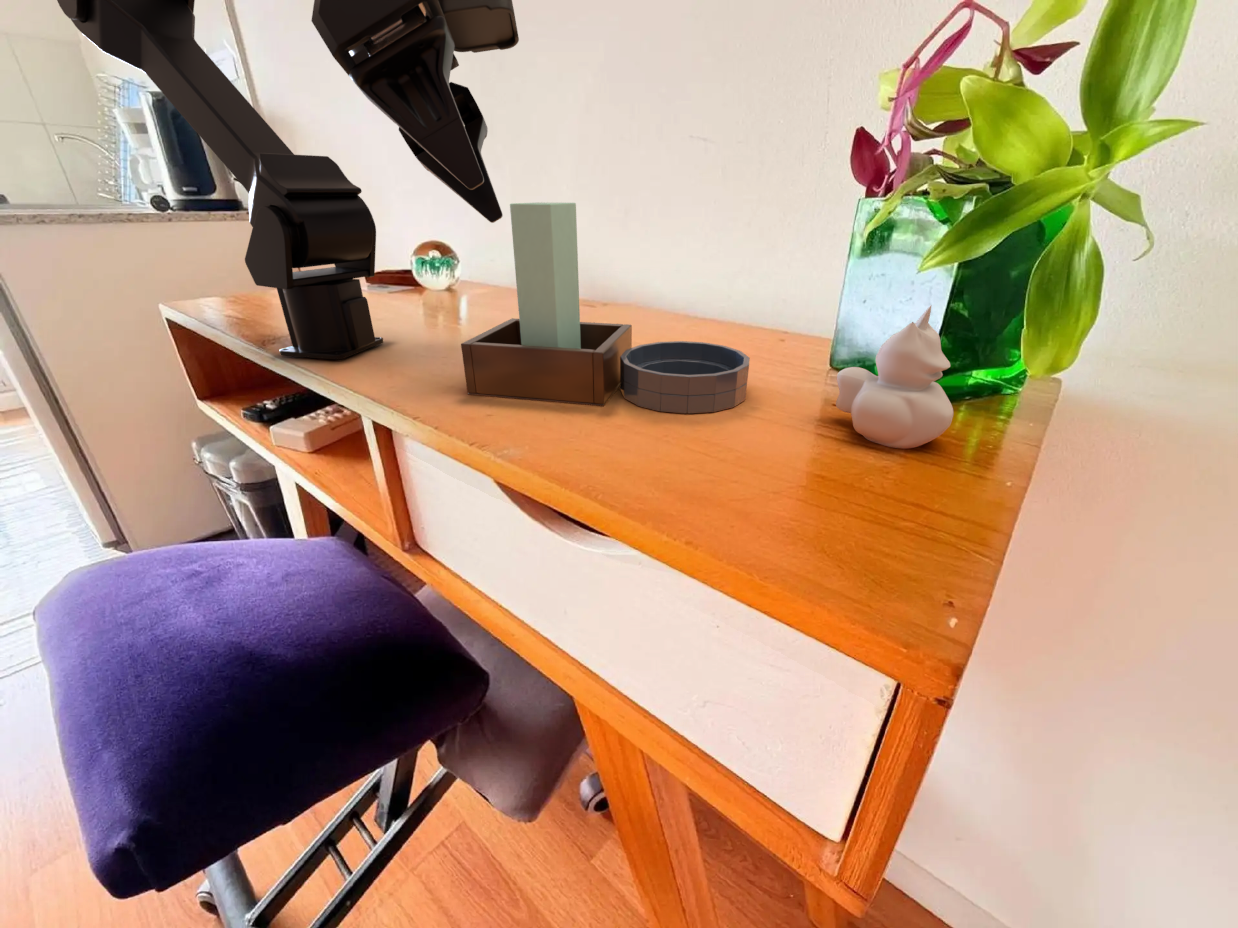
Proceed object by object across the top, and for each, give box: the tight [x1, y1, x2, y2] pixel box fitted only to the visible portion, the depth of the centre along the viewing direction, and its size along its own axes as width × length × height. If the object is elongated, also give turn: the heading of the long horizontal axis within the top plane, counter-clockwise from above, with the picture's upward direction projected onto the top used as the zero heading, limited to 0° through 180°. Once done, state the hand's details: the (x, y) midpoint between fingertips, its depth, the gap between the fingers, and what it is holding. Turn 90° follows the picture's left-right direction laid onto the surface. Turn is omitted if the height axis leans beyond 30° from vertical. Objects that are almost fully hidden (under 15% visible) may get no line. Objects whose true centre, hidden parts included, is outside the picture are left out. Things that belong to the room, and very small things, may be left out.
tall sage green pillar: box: [509, 202, 581, 349], centre depth 38 cm, size 3×4×12 cm
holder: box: [460, 317, 633, 407], centre depth 40 cm, size 10×8×4 cm
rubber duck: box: [835, 305, 954, 450], centre depth 31 cm, size 5×7×8 cm
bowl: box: [619, 340, 751, 415], centre depth 38 cm, size 9×9×3 cm
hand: (488, 205), depth 38 cm, fingers open, 9 cm apart
